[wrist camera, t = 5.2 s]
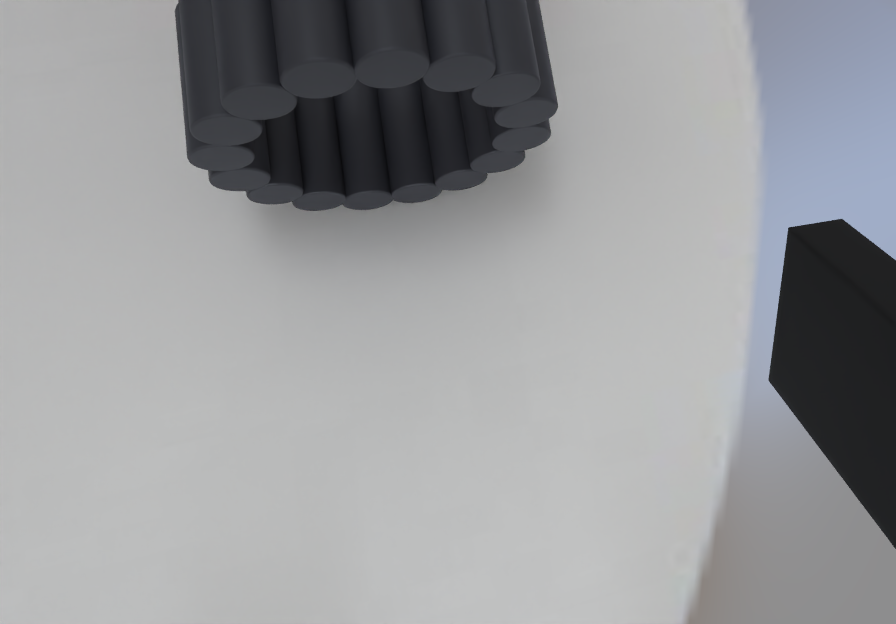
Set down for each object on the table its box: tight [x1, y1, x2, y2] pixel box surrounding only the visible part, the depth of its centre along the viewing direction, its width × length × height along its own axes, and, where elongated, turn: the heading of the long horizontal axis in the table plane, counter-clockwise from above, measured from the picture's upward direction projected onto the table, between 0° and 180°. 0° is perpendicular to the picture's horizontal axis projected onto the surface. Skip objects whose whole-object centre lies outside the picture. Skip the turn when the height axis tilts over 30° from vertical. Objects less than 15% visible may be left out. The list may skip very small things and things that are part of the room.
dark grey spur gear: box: [175, 0, 558, 211], centre depth 23 cm, size 11×5×11 cm, turn 98°
